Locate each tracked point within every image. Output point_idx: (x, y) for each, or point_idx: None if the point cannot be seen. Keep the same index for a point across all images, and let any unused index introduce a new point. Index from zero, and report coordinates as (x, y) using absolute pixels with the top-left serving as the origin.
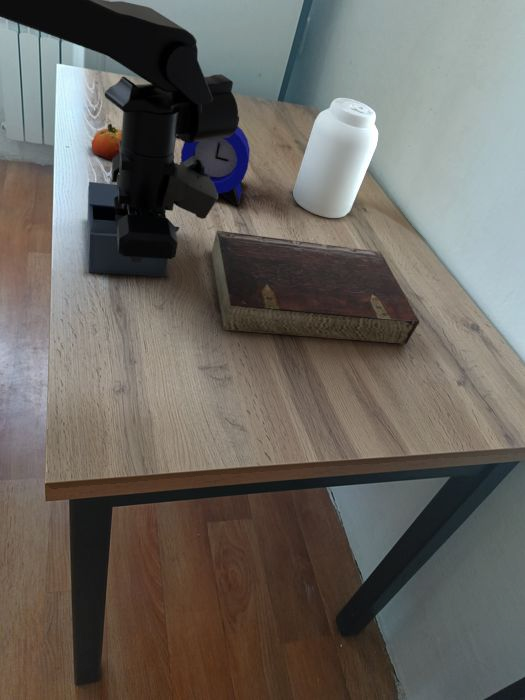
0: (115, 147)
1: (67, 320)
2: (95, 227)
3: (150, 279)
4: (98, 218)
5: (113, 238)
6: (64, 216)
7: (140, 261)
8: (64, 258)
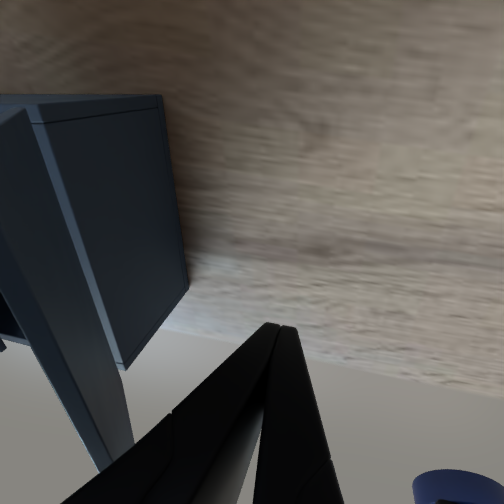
0: None
1: (349, 351)
2: (132, 438)
3: (184, 146)
4: None
5: (115, 313)
6: None
7: (297, 334)
8: None
